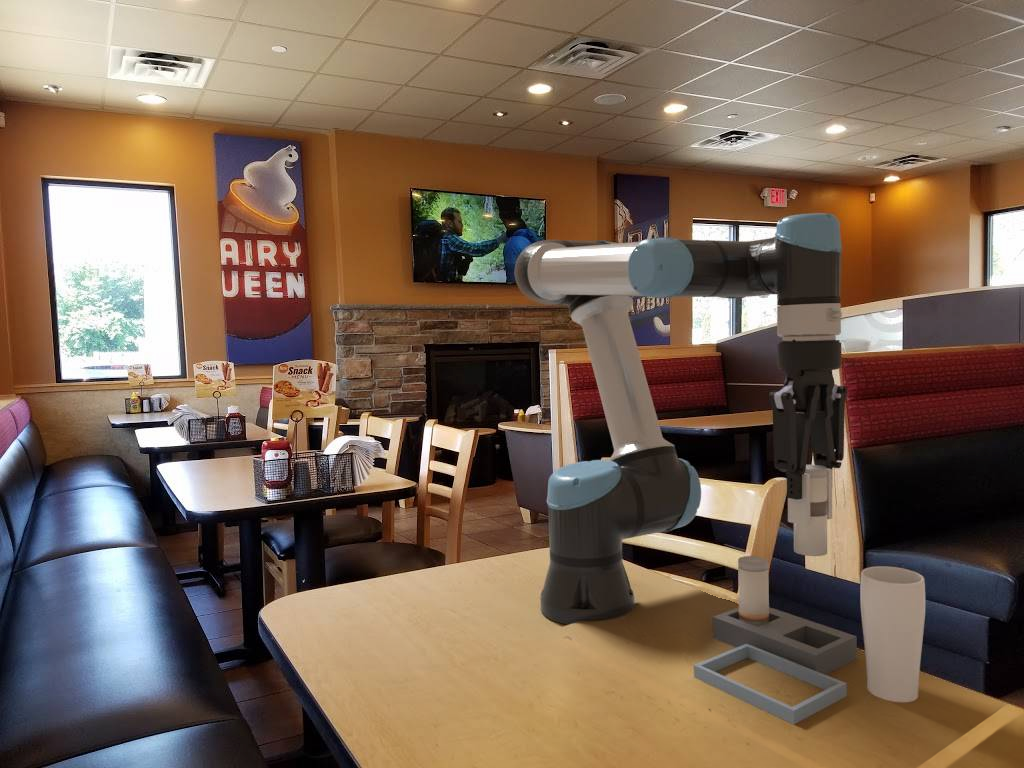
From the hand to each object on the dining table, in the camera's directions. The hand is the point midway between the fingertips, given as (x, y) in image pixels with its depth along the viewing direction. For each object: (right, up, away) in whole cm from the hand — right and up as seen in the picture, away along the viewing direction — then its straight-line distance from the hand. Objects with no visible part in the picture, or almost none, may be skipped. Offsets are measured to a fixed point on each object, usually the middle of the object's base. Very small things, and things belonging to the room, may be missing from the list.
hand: (810, 519), depth 94 cm
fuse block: (-2, -19, +5) cm, 20 cm away
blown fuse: (0, -4, 0) cm, 4 cm away
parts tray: (-7, -20, -6) cm, 22 cm away
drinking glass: (+7, -20, -8) cm, 22 cm away
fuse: (-4, -18, +9) cm, 20 cm away
